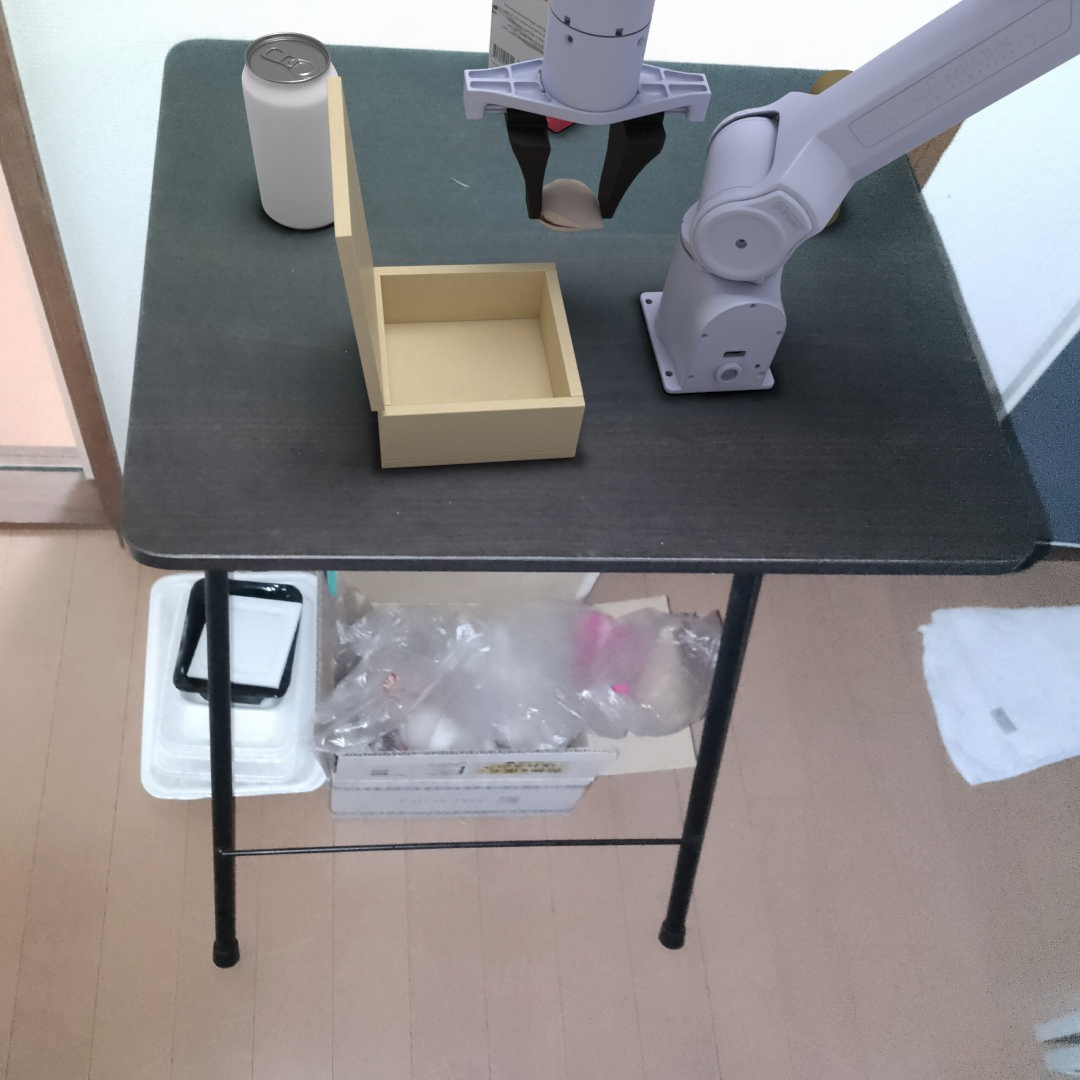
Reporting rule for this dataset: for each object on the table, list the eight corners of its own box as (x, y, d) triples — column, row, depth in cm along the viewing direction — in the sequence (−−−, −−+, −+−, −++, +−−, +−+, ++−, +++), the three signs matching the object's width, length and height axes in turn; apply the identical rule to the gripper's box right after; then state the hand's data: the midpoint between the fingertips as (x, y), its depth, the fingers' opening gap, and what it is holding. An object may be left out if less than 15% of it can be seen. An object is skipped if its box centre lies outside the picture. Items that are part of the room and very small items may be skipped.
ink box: (594, 112, 85) (616, -27, 75) (555, 135, 83) (573, -5, 73) (522, 65, 88) (535, -75, 78) (483, 86, 86) (491, -55, 76)
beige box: (546, 317, 72) (554, 261, 67) (574, 457, 65) (585, 405, 61) (370, 324, 70) (367, 266, 65) (381, 468, 63) (378, 416, 59)
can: (312, 245, 73) (294, 98, 63) (243, 208, 75) (216, 58, 65) (365, 200, 77) (357, 53, 66) (299, 165, 78) (281, 16, 68)
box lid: (340, 75, 54) (326, 76, 54) (351, 235, 47) (334, 236, 47) (372, 261, 65) (360, 262, 65) (385, 410, 58) (371, 411, 58)
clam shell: (558, 192, 69) (563, 161, 66) (618, 225, 67) (625, 195, 65) (521, 223, 66) (525, 192, 64) (582, 258, 65) (588, 228, 63)
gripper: (712, -29, 57) (663, 169, 69) (462, -37, 55) (455, 169, 67) (740, 43, 54) (684, 239, 65) (473, 37, 51) (464, 241, 63)
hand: (569, 209), depth 66 cm, fingers closed on clam shell, 4 cm apart
